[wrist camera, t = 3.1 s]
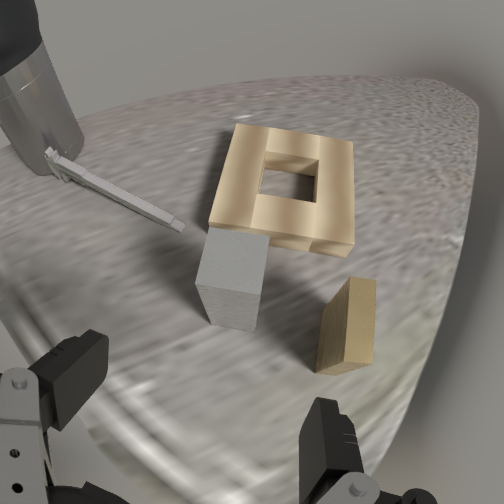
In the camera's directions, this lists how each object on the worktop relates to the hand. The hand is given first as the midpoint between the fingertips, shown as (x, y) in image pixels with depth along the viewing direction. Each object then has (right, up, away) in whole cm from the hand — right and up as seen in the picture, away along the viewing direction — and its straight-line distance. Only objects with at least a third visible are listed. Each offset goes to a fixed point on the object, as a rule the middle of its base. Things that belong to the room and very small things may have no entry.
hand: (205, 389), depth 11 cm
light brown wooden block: (+9, -3, +18) cm, 20 cm away
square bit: (0, 0, +19) cm, 19 cm away
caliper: (-15, +11, +25) cm, 31 cm away
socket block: (+6, +12, +25) cm, 28 cm away
